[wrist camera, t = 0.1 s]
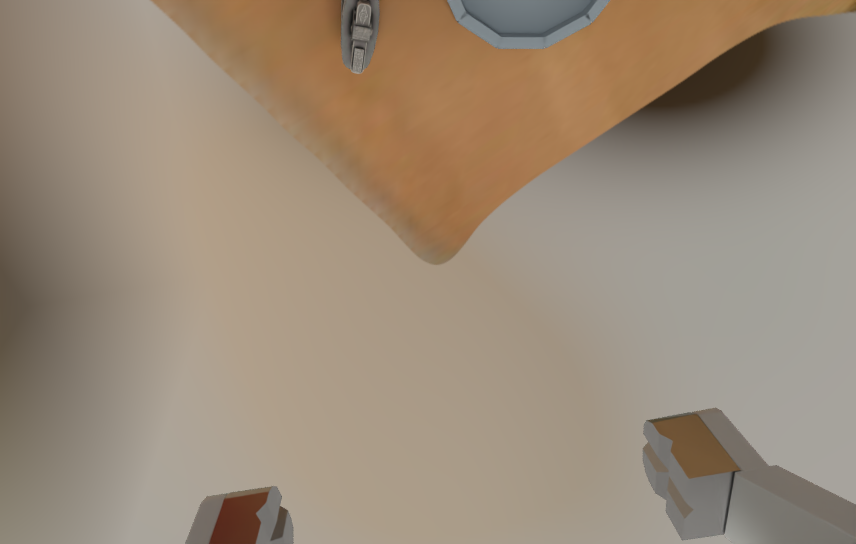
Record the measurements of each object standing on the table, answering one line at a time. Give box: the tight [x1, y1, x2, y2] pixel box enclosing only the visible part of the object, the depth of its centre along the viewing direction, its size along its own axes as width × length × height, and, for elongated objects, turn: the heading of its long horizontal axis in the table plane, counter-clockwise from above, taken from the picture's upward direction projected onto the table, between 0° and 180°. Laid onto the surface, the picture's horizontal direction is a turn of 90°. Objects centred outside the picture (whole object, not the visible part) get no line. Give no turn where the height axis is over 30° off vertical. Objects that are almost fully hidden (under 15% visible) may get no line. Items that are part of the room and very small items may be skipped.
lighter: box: [341, 0, 380, 74], centre depth 48 cm, size 8×3×10 cm, turn 167°
